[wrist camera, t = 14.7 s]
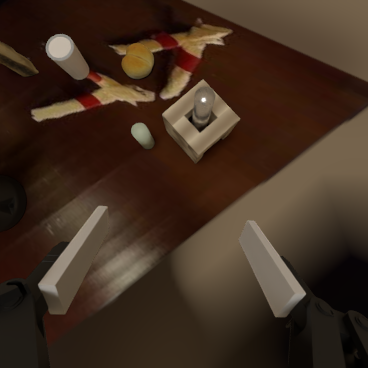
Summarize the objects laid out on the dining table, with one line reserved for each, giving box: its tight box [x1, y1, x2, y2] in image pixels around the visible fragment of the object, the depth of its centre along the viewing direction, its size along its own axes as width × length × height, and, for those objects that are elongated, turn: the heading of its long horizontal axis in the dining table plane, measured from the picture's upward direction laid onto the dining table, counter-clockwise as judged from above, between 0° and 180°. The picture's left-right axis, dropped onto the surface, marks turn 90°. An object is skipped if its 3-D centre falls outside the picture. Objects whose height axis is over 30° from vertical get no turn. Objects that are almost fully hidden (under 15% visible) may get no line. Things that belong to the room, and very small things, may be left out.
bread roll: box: [122, 43, 154, 79], centre depth 42 cm, size 8×9×4 cm
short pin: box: [131, 123, 155, 149], centre depth 38 cm, size 4×4×8 cm
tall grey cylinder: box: [192, 86, 215, 133], centre depth 34 cm, size 4×4×16 cm
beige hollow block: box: [162, 80, 240, 163], centre depth 38 cm, size 12×12×9 cm
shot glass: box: [46, 34, 89, 80], centre depth 40 cm, size 7×7×7 cm
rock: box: [0, 41, 39, 77], centre depth 41 cm, size 11×9×10 cm
